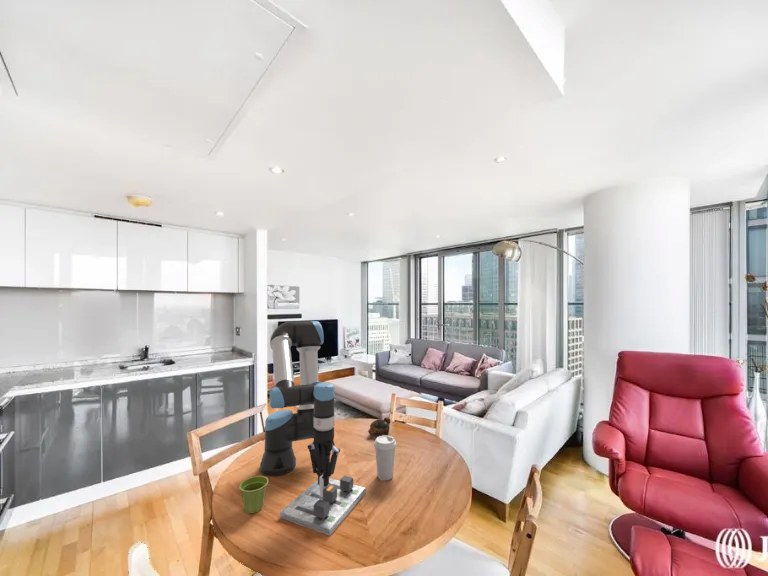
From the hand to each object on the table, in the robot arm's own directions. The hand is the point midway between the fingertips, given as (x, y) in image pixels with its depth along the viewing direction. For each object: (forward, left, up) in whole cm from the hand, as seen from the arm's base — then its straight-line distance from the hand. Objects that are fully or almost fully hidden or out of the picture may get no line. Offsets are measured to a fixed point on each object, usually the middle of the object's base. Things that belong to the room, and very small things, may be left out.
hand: (323, 494), depth 112 cm
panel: (+1, 0, -4) cm, 4 cm away
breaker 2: (+3, 0, -1) cm, 3 cm away
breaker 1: (+5, -8, -1) cm, 9 cm away
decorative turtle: (-7, +64, -4) cm, 64 cm away
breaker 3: (+5, +8, -1) cm, 10 cm away
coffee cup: (+13, +26, -4) cm, 29 cm away
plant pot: (-21, -12, -4) cm, 25 cm away
